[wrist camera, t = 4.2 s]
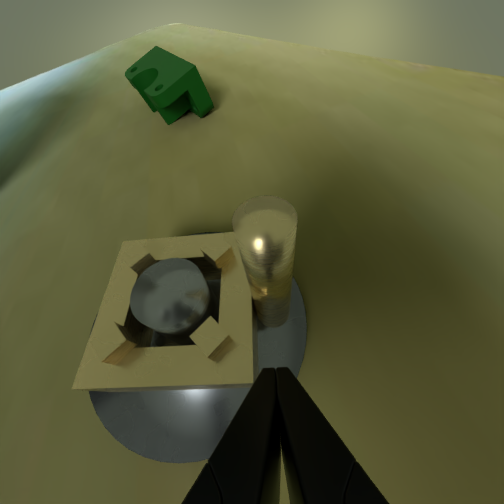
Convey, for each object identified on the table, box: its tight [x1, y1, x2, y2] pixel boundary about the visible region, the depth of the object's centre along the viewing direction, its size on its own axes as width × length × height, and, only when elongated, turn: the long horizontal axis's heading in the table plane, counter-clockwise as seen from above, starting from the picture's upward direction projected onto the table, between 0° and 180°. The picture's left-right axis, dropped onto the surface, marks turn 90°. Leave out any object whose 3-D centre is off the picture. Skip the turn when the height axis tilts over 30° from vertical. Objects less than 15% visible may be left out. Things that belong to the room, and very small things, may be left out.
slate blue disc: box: [89, 232, 307, 463], centre depth 14 cm, size 14×14×6 cm
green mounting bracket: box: [125, 46, 214, 125], centre depth 31 cm, size 12×6×9 cm, turn 31°
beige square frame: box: [72, 195, 298, 392], centre depth 11 cm, size 8×10×8 cm
